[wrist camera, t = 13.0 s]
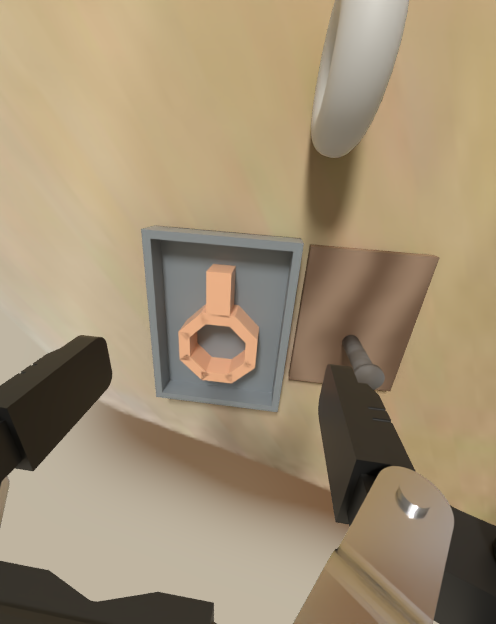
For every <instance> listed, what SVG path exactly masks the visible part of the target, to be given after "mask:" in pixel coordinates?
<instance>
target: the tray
mask: <svg viewBox="0 0 496 624" xmlns="http://www.w3.org/2000/svg"><path fill="white" fill-rule="evenodd" d="M141 233H142V244H143V255H144V266H145V277H146V288H147V299H148V310H149V321H150V332H151V343H152V354H153V365H154V376H155V387H156V397H162V398H170V399H178V400H186V401H194V402H202V403H209V404H217V405H225V406H233V407H241V408H249V409H257V410H265V411H273V412H278V406H279V400H280V393H281V387H282V380H283V374H284V367H285V361H286V354H287V348H288V341H289V335H290V328H291V322H292V316H293V309H294V303H295V296H296V290H297V283H298V277H299V270H300V264H301V257H302V251H303V244H304V243H303V241H302V240H301V238H291V237H279V236H268V235H256V234H245V233H233V232H222V231H210V230H199V229H188V228H176V227H165V226H151V227H147V228H143V229H141ZM212 264H221V265H232V266H236V273H235V294H234V305H239V306H240V307H241V308H242V309H243V310H244V311H245V312H246V314H247V315H248V316H249V317H250V318H251V319H252V320H253V321H254V322H255V323H256V324H257V325H258V326H259V334H258V345H257V355H256V364H255V368H254V369H253V370H251V371H250V372H248V373H247V374H245V375H244V376H242V377H241V378H239V379H238V380H236V381H235V382H233V383H224V382H215V381H207V380H201V379H200V378H199V377H198V376H197V375H196V374H195V373H194V372H193V371H191V370H190V369H189V368H188V367H187V366H186V365H185V364H184V363H183V362H182V361H181V360H180V356H179V336H178V332H179V330H180V329H181V327H182V326H183V325H184V323H185V322H186V320H187V319H189V318H190V317H191V316H192V315H193V314H194V313H196V312H197V311H198V310H199V309H200V308H202V307H203V306H204V305H205V304H206V271H207V270H208V269H209V268H210V267H211V266H212ZM197 343H198V344H199V345H200V346H201V347H202V348H203V349H204V350H205V351H206V352H207V353H208V354H209V355H210V356H211V357H217V358H226V359H233V358H234V357H236V356H237V355H238V354H240V353H241V352H243V351H244V350H245V346H246V343H245V342H244V341H243V340H242V339H241V338H240V337H239V336H238V335H237V334H236V333H235V332H234V331H233V330H232V329H231V327H228V326H218V325H209V324H205V325H204V326H203V327H202V328H200V329H199V330H198V331H197Z"/></svg>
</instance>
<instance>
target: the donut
mask: <svg viewBox="0 0 496 624" xmlns="http://www.w3.org/2000/svg"><path fill="white" fill-rule="evenodd" d="M408 4H409V0H335V2H334V6H333V9H332V13H331V17H330V21H329V25H328V29H327V34H326V38H325V43H324V47H323V52H322V57H321V62H320V67H319V73H318V78H317V84H316V90H315V97H314V103H313V112H312V123H311V137H312V142H313V145H314V147H315V149H316V150H317V151H318V152H319V153H320V154H322V155H324V156H327V157H330V158H338V157H341V156H344V155H346V154H348V153H349V152H350V151H351V150H352V149H353V148H354V147H355V146H356V145H357V144H358V143H359V142H360V141H361V139H362V138H363V136H364V135H365V133H366V131H367V130H368V128H369V126H370V125H371V123H372V121H373V119H374V117H375V114H376V112H377V110H378V108H379V105H380V103H381V101H382V98H383V96H384V93H385V90H386V87H387V85H388V82H389V79H390V76H391V74H392V71H393V67H394V64H395V60H396V57H397V54H398V50H399V47H400V43H401V40H402V35H403V31H404V26H405V21H406V17H407V12H408Z"/></svg>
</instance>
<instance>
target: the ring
mask: <svg viewBox="0 0 496 624" xmlns="http://www.w3.org/2000/svg"><path fill="white" fill-rule="evenodd" d="M235 273H236V266H232V265H221V264H212V266H211V267H210V268H209V269H208V270H207V271H206V304H205V305H204V306H203V307H202V308H200V309H199V310H198V311H197V312H196V313H194V314H193V315H192V316H191V317H190V318H189V319H187V320H186V322H185V323H184V325H183V326H182V327H181V329H180V330H179V332H178V336H179V356H180V360H181V361H182V362H183V363H184V364H185V365H186V366H187V367H188V368H189V369H190V370H191V371H193V372H194V373H195V374H196V375H197V376H198V377H199V378H200V379H201V380H207V381H215V382H224V383H233V382H235V381H236V380H238V379H239V378H241V377H242V376H244V375H245V374H247V373H248V372H250V371H251V370H253V369H254V368H255V364H256V355H257V345H258V334H259V326H258V325H257V324H256V323H255V322H254V321H253V320H252V319H251V318H250V317H249V316H248V315H247V314H246V312H245V311H244V310H243V309H242V308H241V307H240V306H239V305H234V294H235ZM205 324H209V325H218V326H228V327H231V329H232V330H233V331H234V332H235V333H236V334H237V335H238V336H239V337H240V338H241V339H242V340H243V341H244V342H245V343H246V346H245V350H244V351H243V352H241V353H240V354H238V355H237V356H236V357H234V358H233V359H226V358H217V357H211V356H210V355H209V354H208V353H207V352H206V351H205V350H204V349H203V348H202V347H201V346H200V345H199V344H198V343H197V331H198V330H199V329H200V328H202V327H203V326H204V325H205Z"/></svg>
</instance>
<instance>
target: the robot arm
mask: <svg viewBox="0 0 496 624" xmlns="http://www.w3.org/2000/svg"><path fill="white" fill-rule="evenodd" d="M111 379H112V369H111V364H110V359H109V353H108V348H107V343H106V341H105V339H104V338H102V337H94V336H85V335H80V336H78V337H76V338H75V339H73V340H72V341H70V342H69V343H67V344H66V345H65V346H63V347H62V348H60V349H58V350H55V351H53V352H51V353H48V354H46V355H45V356H43V357H42V358H40V359H39V360H37V361H36V362H34V363H33V365H32V366H31V365H30V366H29V367H27V368H26V369H24V370H23V371H21V374H17V375H15V376H14V377H12V378H11V379H9V380H8V381H6V382H5V383H4V384H2V385H1V386H0V526H1V522H2V517H3V512H4V508H5V503H6V498H7V493H8V489H9V479H8V477H7V475H8V474H9V473H10V472H11V471H12V470H13V469H14V468H16V469H23V470H29V471H34V470H35V469H36V468H37V466H38V465H39V464H40V463H41V462H42V461H43V460H44V459H45V457H46V456H47V455H48V454H49V453H50V452H51V451H52V450H53V449H54V448H55V447H56V445H57V444H58V443H59V442H60V441H61V440H62V439H63V437H64V436H65V435H66V434H67V433H68V432H69V431H70V429H72V427H73V426H74V425H75V424H76V423H77V422H78V421H79V420H80V419H81V418H82V416H83V415H84V414H85V413H86V412H87V411H88V410H89V409H90V408H91V406H92V405H93V404H94V403H95V402H96V401H97V400H98V399H99V398H100V396H101V395H102V394H103V393H104V392H105V391H106V390H107V388H108V387H109V385H110V383H111ZM318 415H319V422H320V428H321V435H322V441H323V447H324V453H325V459H326V466H327V472H328V478H329V484H330V490H331V496H332V502H333V509H334V515H335V520H336V522H338V523H344V524H349V526H350V528H349V530H348V531H347V533H346V535H345V537H344V539H343V541H342V542H341V544H340V546H339V547H338V549H335V551H334V552H333V553H332V555H331V556H330V558H329V560H328V561H327V563H326V565H325V567H324V568H323V570H322V572H321V574H320V576H319V578H318V579H317V581H316V583H315V585H314V587H313V589H312V590H311V592H310V594H309V596H308V597H307V599H306V601H305V603H304V605H303V606H302V608H301V610H300V612H299V614H298V616H297V617H296V619H295V621H294V623H293V624H433V620H434V621H436V622H438V623H439V624H496V526H494V525H492V524H489V523H487V522H485V521H483V520H480V519H478V518H476V517H473V516H471V515H469V514H466V513H464V512H462V511H460V510H458V509H456V508H454V507H452V506H450V505H449V503H448V501H447V500H446V498H445V497H444V495H443V494H442V493H441V491H440V490H439V489H438V488H437V487H436V486H435V485H434V484H433V483H432V482H430V481H429V480H428V479H427V478H425V477H424V476H422V475H421V474H419V473H417V472H416V471H415V469H414V467H413V465H412V463H411V461H410V459H409V457H408V455H407V453H406V451H405V449H404V446H403V444H402V442H401V440H400V438H399V436H398V434H397V432H396V430H395V428H394V426H393V424H392V423H391V419H390V417H389V415H388V413H387V411H385V407H384V405H383V403H382V401H381V398H380V396H379V395H378V394H377V393H376V392H375V391H374V390H373V389H372V388H371V387H370V386H369V385H368V384H366V383H358V381H357V379H356V376H355V374H354V371H353V369H352V367H351V366H342V365H334V364H328V365H327V367H326V370H325V375H324V379H323V384H322V389H321V393H320V398H319V406H318ZM0 624H216V623H215V622H214V603H212V602H207V601H202V600H197V599H192V598H186V597H181V596H176V595H171V594H166V593H161V592H155V593H148V594H143V595H137V596H130V597H124V598H118V599H112V600H106V601H99V602H94V601H90V600H89V599H87V598H86V597H84V596H83V595H82V594H80V593H79V592H77V591H76V590H75V589H73V588H72V587H71V586H69V585H68V584H67V583H65V582H64V581H63V580H61V579H60V578H59V577H57V576H56V575H54V574H53V573H52V572H50V571H49V570H44V569H39V568H33V567H28V566H23V565H18V564H13V563H8V562H3V561H0Z"/></svg>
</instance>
